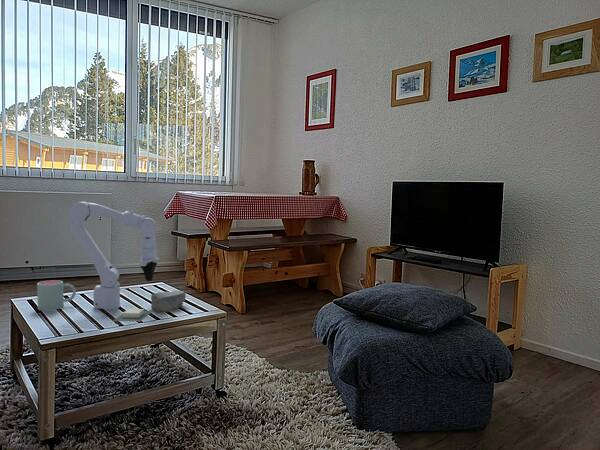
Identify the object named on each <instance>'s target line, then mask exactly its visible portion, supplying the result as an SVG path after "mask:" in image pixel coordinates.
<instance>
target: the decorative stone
mask: <svg viewBox="0 0 600 450" xmlns="http://www.w3.org/2000/svg"><path fill="white" fill-rule="evenodd" d="M186 295H187V294H186V292H185V291H184V290H177V289H176V290H173V291H161V292H156V293H155V292H154V293H151V295H150V297H151V298H150V299H151V304H150V306H151V307H150V308H151V311H152V312H156V313H159V314H161V313H167V312H171V311H174V310H178V309H179V308H181V307H183V304H184V302H186Z"/></svg>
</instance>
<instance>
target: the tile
mask: <svg viewBox="0 0 600 450" xmlns="http://www.w3.org/2000/svg"><path fill="white" fill-rule="evenodd" d="M144 311H145V308H127V309H126V310H125V311H123V312H122V314H123V318H140V317H141V316H142V315H143V314H144ZM122 314H121V315H122Z"/></svg>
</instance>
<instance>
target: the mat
mask: <svg viewBox="0 0 600 450" xmlns="http://www.w3.org/2000/svg"><path fill="white" fill-rule="evenodd" d="M152 312H153V310H144V314H143V315H142V316H141V317H140V318H123V314H121V315H118V317H115V319H113V320H112V322H139V323H140V322H142V321H144V319H145V318H147V317H148V316H149V315H150V314H152Z"/></svg>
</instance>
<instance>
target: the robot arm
mask: <svg viewBox="0 0 600 450" xmlns="http://www.w3.org/2000/svg"><path fill="white" fill-rule="evenodd" d="M68 215H69V229H70V231H71V233H72V235H73V236H74V238H75V239H76V240H77V242H78V244H79V245H80V247H81V248H82V249H83V250H84V252H85V254H86V255H87V257H88V258H89V260H90V261H91V262H92V265H94V268H95V270H96V272H97V275H98V276H99V280H100V285H98V284H97V285H95V287H94V288H93V309H105V310H106V309H107V310H108V309H109V310H110V309H111V310H117V309H118V308H120V307H121V306H123V305H124V303H121V284H120V282H119V281H118V279H119V278H120V272H119V271H120V270H118V268H116V267H114V266H113V264H111V262H110V261H109V260H107V258H106V256H105V255H104V253H103V252H102V251H101V249H100V248H99V245H97V244H96V242H95V241H94V239H93V237H92V235H91V234H90V232H88V230H87V228H86V223H87V221H88V218H89V217H90V216H91V217H92V216H96V215H100V216H104V217H108V218H111V219H113V220H118V221H120V224H121V225H123V226H125V227H129V228H132V229H135V230H140V231H141V232H140V233H141V234H140V256H141V257H140V261H139V264H140V267H141V270H142V271H143V275H144V279H145V281H146V282H152V281H153V279H154V278H153V277H154V274H155V270H156V267H157V265H158V262H157V261H159V260H160V258H159V257H158V256H157V247H156V246H157V245H156V243H157V241H156V238H157V237H156V230H155V229H156V221H155V220H154V219H153V218H151V217H149V216H147V217H146V215H144V214H143V215H141V214H137V213H134V211H133V210H126V211H124V212H122V211H118V210H116V209H113V208H110V207H107V206H105V205H102V204H98V203H94V202H88V201H85V200H84V201H82V200H81V201H78V202H74V204H73V205H72V206H71V208H70V211H69V213H68Z"/></svg>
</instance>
